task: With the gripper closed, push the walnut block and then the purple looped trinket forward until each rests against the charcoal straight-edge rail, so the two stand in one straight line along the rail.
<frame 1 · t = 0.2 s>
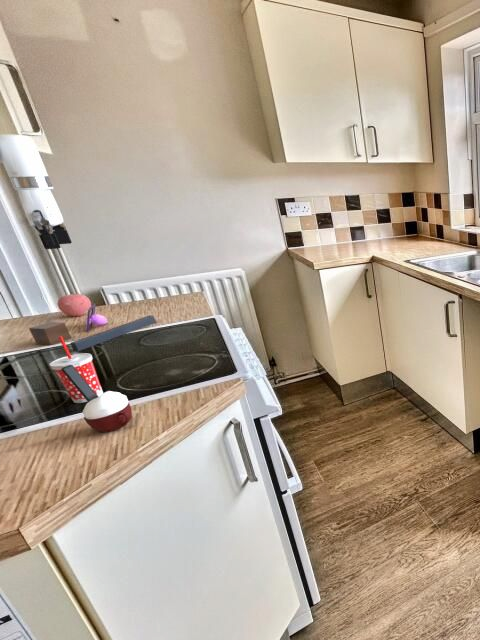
hand: (59, 246, 123), 24 cm above the worktop, tool pointing down, fingers open, 9 cm apart
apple: (80, 316, 139), on the worktop
cocoa: (114, 426, 78), on the worktop
walnut block: (54, 341, 118), on the worktop
beverage cup: (89, 399, 88), on the worktop
purple looped trinket: (100, 327, 129), on the worktop
rail: (118, 336, 121), on the worktop
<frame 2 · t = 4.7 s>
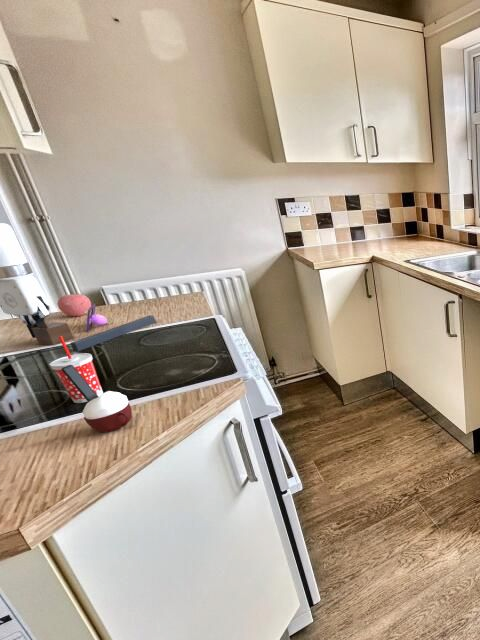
hand: (41, 336, 118), 1 cm above the worktop, tool pointing down, fingers closed
walnut block: (57, 342, 117), on the worktop, touching gripper
everything else where it was.
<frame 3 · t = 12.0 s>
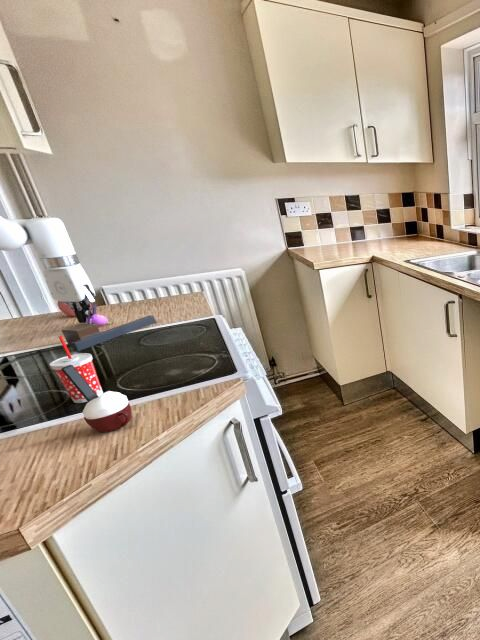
hand: (86, 321, 129), 1 cm above the worktop, tool pointing down, fingers closed
walnut block: (86, 343, 116), on the worktop
purple looped trinket: (101, 327, 129), on the worktop, touching gripper
everything else where it was.
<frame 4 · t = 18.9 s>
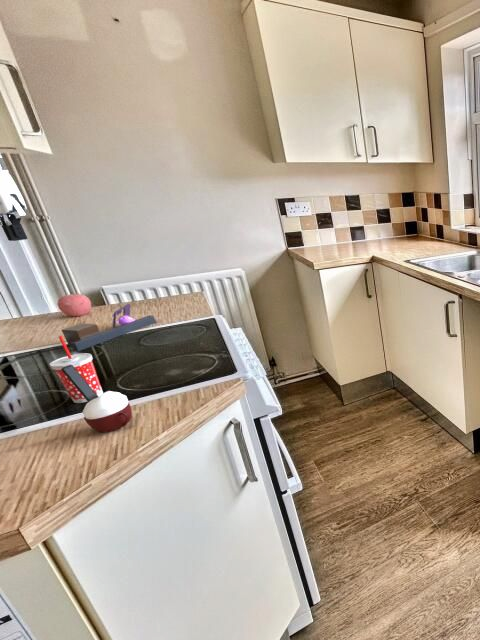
hand: (18, 239, 113), 27 cm above the worktop, tool pointing down, fingers closed
purple looped trinket: (130, 328, 127), on the worktop
everything else where it was.
at the end: walnut block 0.2 cm from the target spot, on the worktop; purple looped trinket 0.3 cm from the target spot, on the worktop; purple looped trinket tilted 0° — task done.
